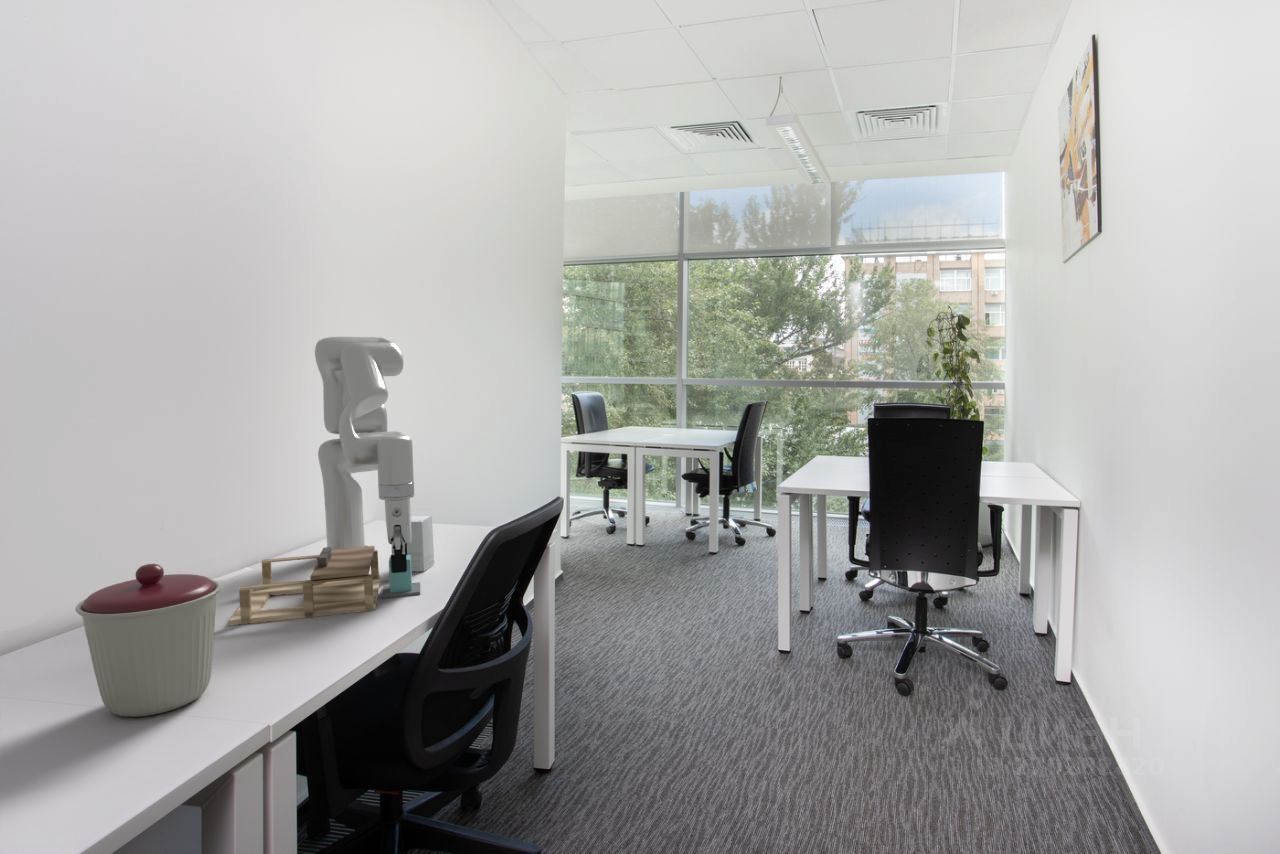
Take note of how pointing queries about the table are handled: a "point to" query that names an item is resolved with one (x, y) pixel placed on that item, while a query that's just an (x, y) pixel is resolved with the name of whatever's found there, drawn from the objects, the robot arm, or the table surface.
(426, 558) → the supplement box
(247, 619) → the light wood slatted frame
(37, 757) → the table surface
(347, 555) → the walnut lid
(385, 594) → the felt mat
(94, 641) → the canister
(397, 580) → the teal block
